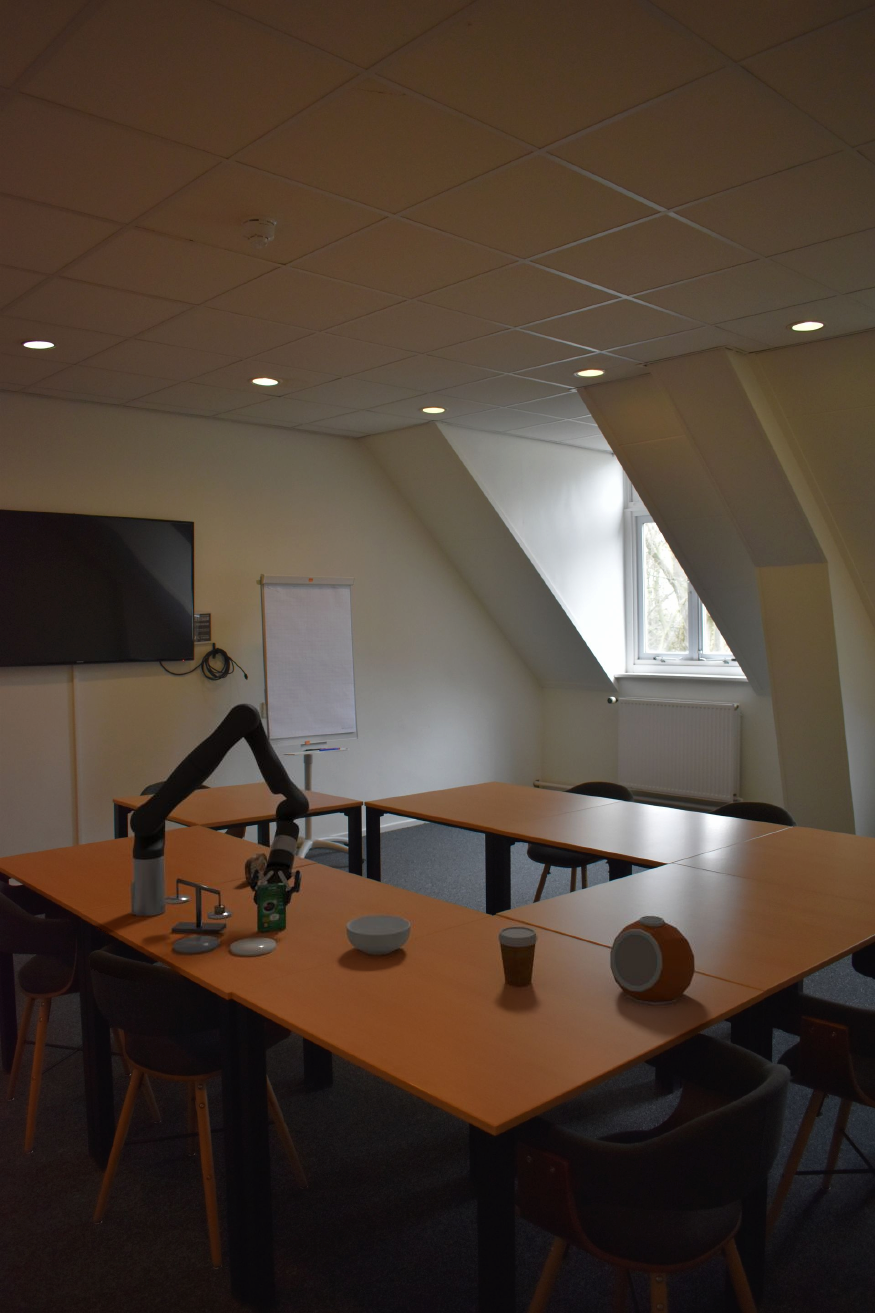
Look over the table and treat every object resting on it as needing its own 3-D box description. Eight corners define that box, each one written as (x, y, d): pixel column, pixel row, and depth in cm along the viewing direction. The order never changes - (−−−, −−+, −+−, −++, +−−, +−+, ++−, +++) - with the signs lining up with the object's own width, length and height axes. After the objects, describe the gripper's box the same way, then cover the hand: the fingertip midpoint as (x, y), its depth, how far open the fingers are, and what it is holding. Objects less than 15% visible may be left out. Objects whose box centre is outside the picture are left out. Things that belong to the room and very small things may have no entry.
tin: (252, 886, 316) (251, 861, 316) (243, 885, 317) (242, 860, 316) (268, 874, 331) (268, 850, 330) (260, 874, 331) (259, 850, 331)
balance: (161, 932, 267) (160, 881, 266) (171, 925, 274) (170, 874, 273) (227, 934, 264) (226, 882, 264) (236, 927, 271) (235, 876, 271)
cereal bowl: (353, 964, 239) (352, 936, 239) (341, 944, 255) (341, 918, 255) (417, 957, 243) (417, 930, 243) (402, 937, 259) (402, 912, 259)
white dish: (223, 955, 247) (223, 951, 247) (239, 940, 259) (239, 937, 259) (267, 957, 245) (267, 953, 245) (281, 942, 257) (281, 938, 257)
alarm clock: (595, 993, 217) (594, 919, 217) (637, 973, 229) (637, 903, 229) (668, 1016, 203) (667, 937, 203) (709, 994, 216) (708, 919, 215)
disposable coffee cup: (513, 971, 232) (512, 923, 231) (545, 980, 226) (545, 930, 225) (490, 983, 224) (489, 933, 224) (523, 992, 218) (522, 941, 218)
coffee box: (283, 926, 271) (282, 881, 271) (287, 929, 269) (286, 883, 268) (256, 931, 267) (255, 885, 267) (260, 933, 265) (259, 887, 264)
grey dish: (166, 953, 249) (165, 949, 249) (184, 938, 261) (184, 935, 261) (209, 955, 248) (209, 951, 248) (225, 940, 259) (225, 936, 259)
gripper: (255, 847, 276) (243, 897, 265) (302, 848, 274) (292, 898, 263) (262, 861, 282) (250, 910, 271) (308, 861, 280) (298, 911, 269)
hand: (270, 904), depth 267 cm, fingers open, 8 cm apart
